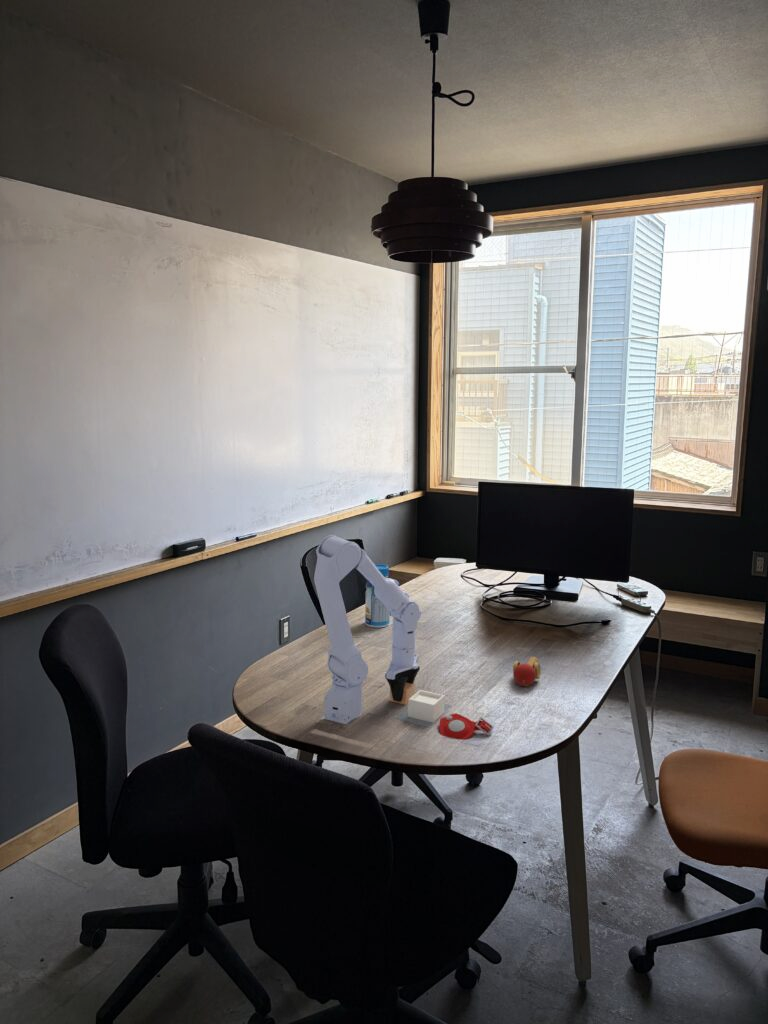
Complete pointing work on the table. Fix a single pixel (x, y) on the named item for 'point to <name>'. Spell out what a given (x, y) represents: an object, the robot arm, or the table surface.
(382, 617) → the beverage bottle
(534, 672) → the kendama
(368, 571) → the robot arm
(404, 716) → the baseplate
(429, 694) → the cream base block
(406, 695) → the orange block
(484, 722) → the tracker holder
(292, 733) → the table surface
